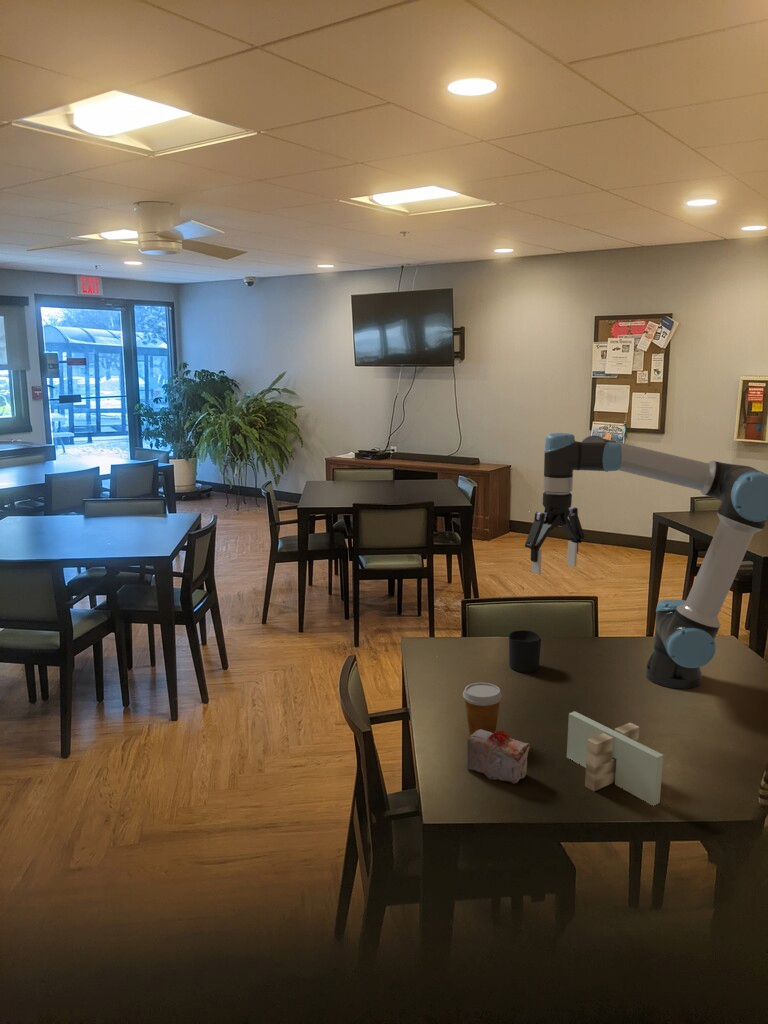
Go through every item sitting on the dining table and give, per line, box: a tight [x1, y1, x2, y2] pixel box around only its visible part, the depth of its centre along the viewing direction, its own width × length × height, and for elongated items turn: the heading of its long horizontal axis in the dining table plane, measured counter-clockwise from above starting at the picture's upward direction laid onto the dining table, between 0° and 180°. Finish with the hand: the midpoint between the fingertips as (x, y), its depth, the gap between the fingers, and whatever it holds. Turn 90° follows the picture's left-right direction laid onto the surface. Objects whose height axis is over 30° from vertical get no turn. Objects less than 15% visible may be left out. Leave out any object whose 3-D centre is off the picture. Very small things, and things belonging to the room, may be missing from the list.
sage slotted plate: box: [566, 711, 664, 807], centre depth 171 cm, size 24×2×11 cm, turn 34°
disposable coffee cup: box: [462, 682, 503, 736], centre depth 190 cm, size 10×10×12 cm
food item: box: [466, 729, 531, 784], centre depth 173 cm, size 14×8×10 cm, turn 57°
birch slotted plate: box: [584, 722, 640, 792], centre depth 170 cm, size 14×2×11 cm, turn 124°
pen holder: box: [508, 629, 542, 674], centre depth 231 cm, size 9×9×10 cm
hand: (554, 569), depth 210 cm, fingers open, 13 cm apart
